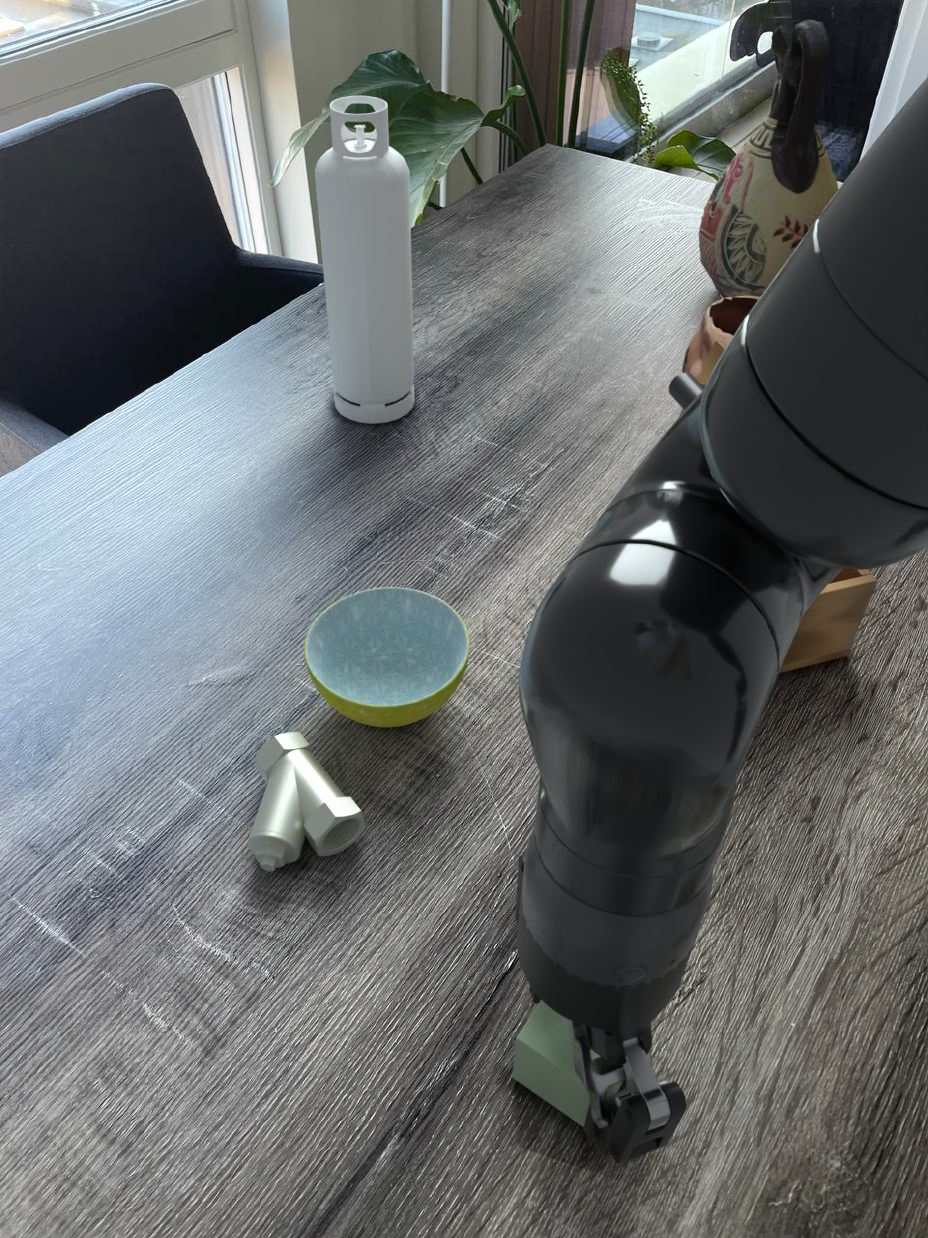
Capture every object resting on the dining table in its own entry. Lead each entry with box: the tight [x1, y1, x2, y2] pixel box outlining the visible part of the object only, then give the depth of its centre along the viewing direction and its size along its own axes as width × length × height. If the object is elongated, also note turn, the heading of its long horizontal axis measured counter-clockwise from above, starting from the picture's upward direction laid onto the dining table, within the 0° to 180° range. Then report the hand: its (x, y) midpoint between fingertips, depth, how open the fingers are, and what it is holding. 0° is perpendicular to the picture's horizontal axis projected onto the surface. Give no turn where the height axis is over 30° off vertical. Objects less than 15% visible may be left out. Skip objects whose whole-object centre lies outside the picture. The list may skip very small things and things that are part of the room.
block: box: [511, 1000, 623, 1128], centre depth 52 cm, size 5×5×5 cm
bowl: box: [303, 586, 471, 728], centre depth 70 cm, size 11×12×6 cm
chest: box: [779, 569, 879, 674], centre depth 76 cm, size 14×12×8 cm
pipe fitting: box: [247, 731, 366, 872], centre depth 64 cm, size 8×4×7 cm
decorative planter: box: [681, 296, 760, 380], centre depth 92 cm, size 20×12×14 cm, turn 162°
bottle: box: [314, 95, 415, 425], centre depth 92 cm, size 8×8×28 cm
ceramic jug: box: [698, 19, 839, 300], centre depth 107 cm, size 17×15×30 cm
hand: (575, 1058), depth 53 cm, fingers closed on block, 7 cm apart
